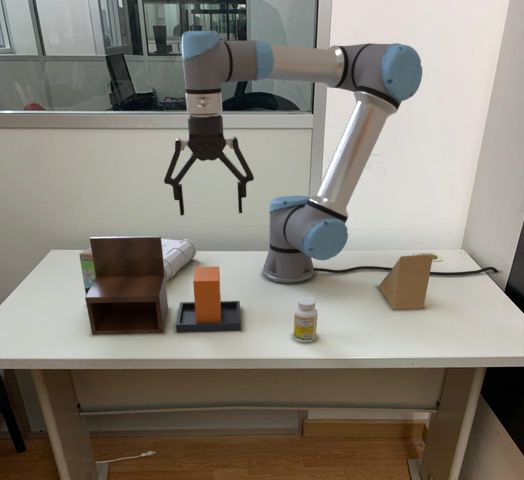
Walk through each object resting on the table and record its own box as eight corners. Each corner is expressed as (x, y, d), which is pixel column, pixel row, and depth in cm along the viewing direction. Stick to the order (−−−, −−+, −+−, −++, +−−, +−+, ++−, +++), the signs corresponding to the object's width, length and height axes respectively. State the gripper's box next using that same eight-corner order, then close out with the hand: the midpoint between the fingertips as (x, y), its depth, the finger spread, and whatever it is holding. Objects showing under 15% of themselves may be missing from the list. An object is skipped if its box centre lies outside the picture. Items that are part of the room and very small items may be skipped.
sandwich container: (405, 285, 153) (413, 235, 145) (424, 308, 140) (434, 254, 132) (376, 286, 152) (382, 235, 145) (392, 310, 139) (400, 256, 132)
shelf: (168, 309, 140) (161, 235, 129) (163, 333, 128) (154, 254, 118) (103, 311, 139) (90, 237, 128) (92, 335, 128) (77, 256, 117)
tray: (239, 307, 140) (239, 300, 139) (240, 330, 130) (240, 323, 128) (180, 309, 140) (179, 302, 138) (176, 332, 129) (175, 324, 128)
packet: (221, 309, 138) (219, 266, 132) (220, 325, 130) (218, 280, 124) (198, 310, 138) (195, 266, 132) (196, 326, 130) (193, 281, 124)
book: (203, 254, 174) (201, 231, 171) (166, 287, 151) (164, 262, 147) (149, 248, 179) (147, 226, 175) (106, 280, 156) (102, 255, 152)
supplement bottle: (307, 345, 123) (309, 308, 119) (289, 338, 126) (290, 301, 122) (320, 336, 127) (322, 300, 122) (302, 329, 130) (304, 294, 125)
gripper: (144, 118, 110) (156, 219, 121) (264, 115, 111) (265, 215, 122) (148, 113, 116) (159, 209, 127) (261, 110, 117) (263, 205, 128)
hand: (211, 212), depth 125 cm, fingers open, 13 cm apart
